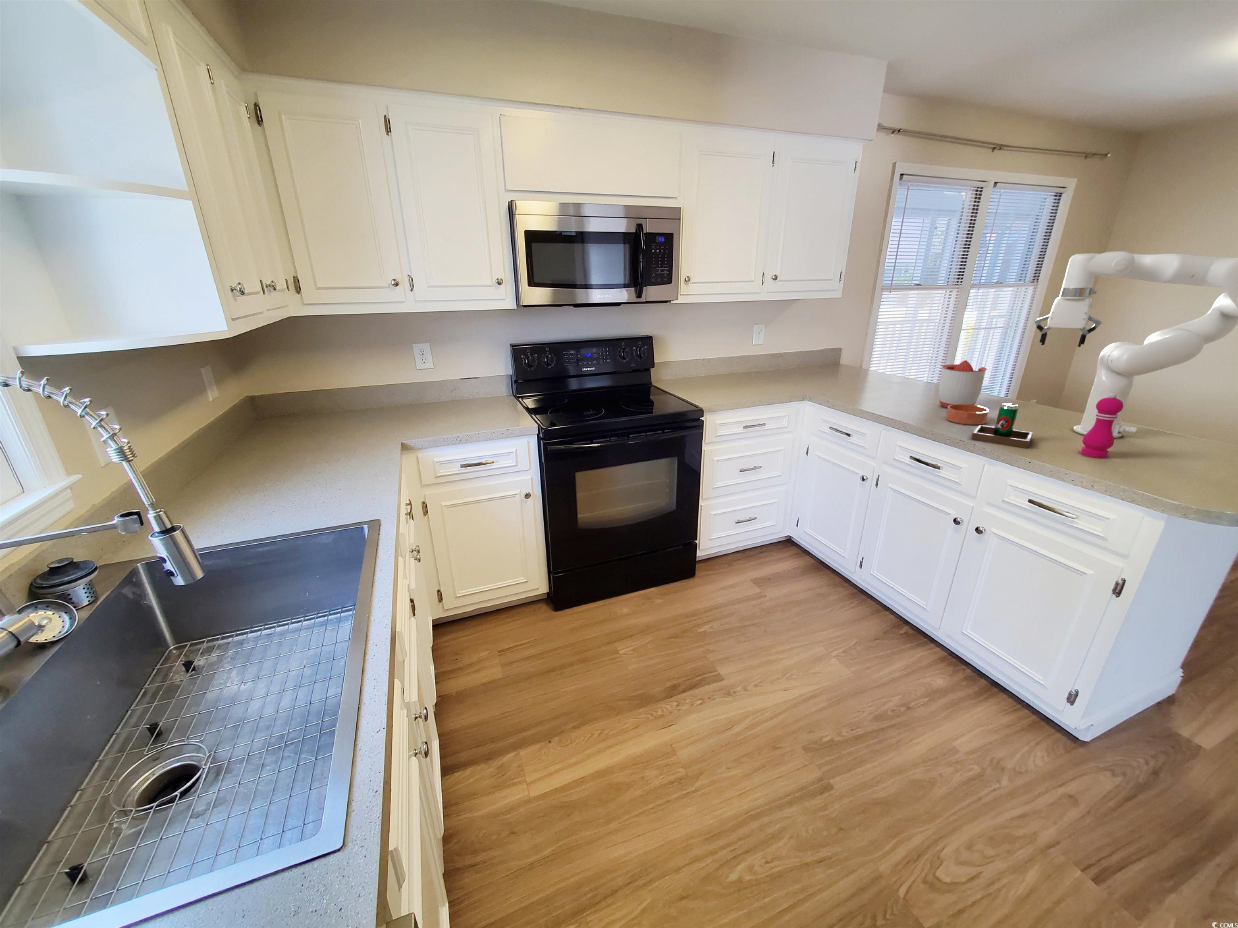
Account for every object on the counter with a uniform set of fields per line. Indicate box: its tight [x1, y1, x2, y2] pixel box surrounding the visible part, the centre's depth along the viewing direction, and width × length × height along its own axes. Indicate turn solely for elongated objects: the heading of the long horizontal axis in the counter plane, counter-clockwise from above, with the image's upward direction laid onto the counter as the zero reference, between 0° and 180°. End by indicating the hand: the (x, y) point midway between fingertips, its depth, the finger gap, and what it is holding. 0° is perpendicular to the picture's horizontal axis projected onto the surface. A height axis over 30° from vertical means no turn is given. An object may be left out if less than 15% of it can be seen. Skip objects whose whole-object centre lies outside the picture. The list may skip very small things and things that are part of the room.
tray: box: [971, 424, 1034, 449], centre depth 172 cm, size 16×12×3 cm
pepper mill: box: [1080, 393, 1123, 459], centre depth 153 cm, size 7×7×20 cm
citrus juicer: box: [938, 359, 987, 409], centre depth 210 cm, size 16×17×20 cm
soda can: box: [993, 402, 1019, 438], centre depth 170 cm, size 5×5×12 cm
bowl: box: [945, 404, 990, 426], centre depth 193 cm, size 13×13×5 cm
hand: (1060, 345), depth 170 cm, fingers open, 9 cm apart
